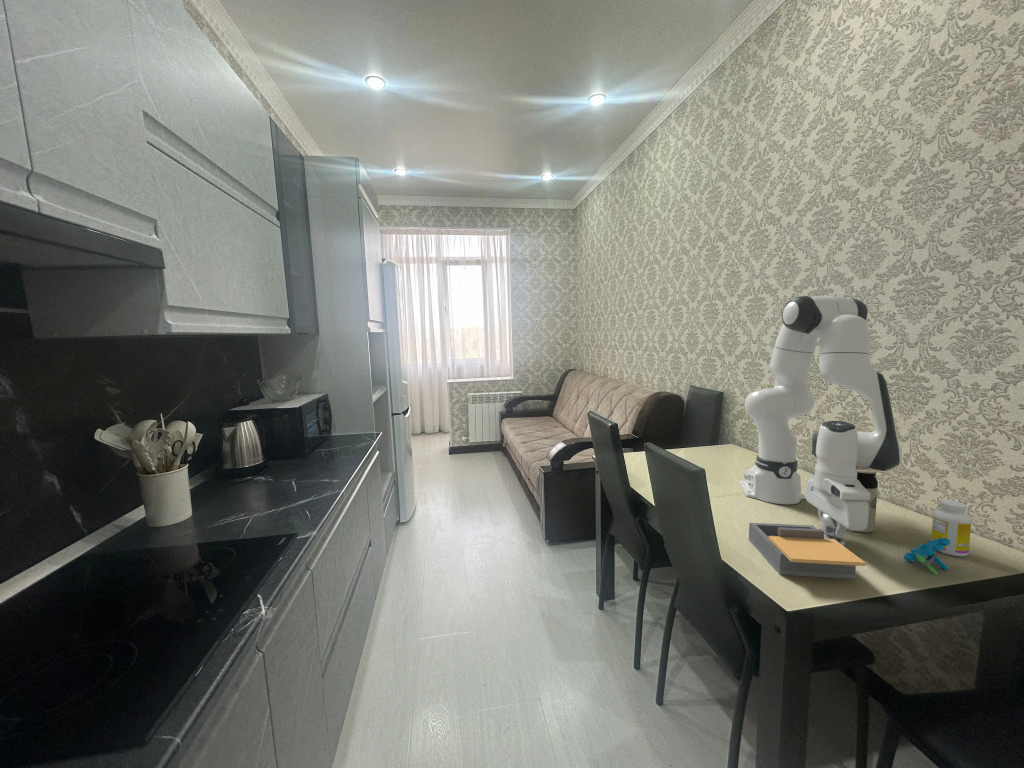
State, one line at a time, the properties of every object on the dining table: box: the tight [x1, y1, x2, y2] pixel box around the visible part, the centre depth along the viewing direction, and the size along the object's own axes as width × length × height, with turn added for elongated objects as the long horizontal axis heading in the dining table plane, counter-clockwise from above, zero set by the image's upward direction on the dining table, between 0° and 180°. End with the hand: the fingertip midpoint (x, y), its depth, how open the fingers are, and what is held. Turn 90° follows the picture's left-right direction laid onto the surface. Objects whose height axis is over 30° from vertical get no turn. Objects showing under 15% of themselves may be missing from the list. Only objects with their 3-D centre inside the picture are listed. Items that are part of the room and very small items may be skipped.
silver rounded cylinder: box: [820, 513, 846, 547], centre depth 108 cm, size 6×6×8 cm
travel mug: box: [856, 466, 879, 534], centre depth 116 cm, size 8×8×18 cm
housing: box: [748, 522, 857, 580], centre depth 101 cm, size 17×16×5 cm
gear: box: [903, 538, 950, 576], centre depth 96 cm, size 11×6×10 cm
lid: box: [768, 527, 867, 567], centre depth 95 cm, size 12×15×3 cm
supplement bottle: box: [930, 499, 972, 557], centre depth 103 cm, size 7×7×13 cm
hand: (831, 531), depth 108 cm, fingers closed on silver rounded cylinder, 4 cm apart
